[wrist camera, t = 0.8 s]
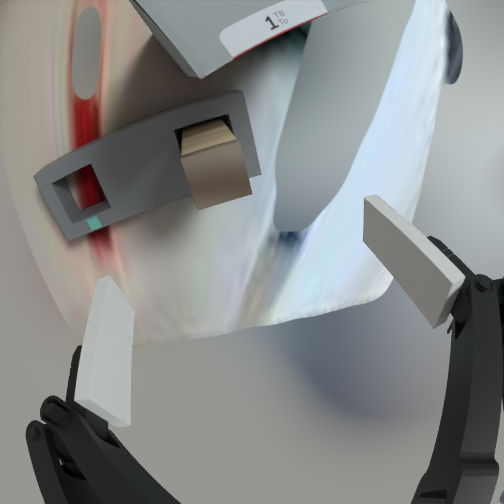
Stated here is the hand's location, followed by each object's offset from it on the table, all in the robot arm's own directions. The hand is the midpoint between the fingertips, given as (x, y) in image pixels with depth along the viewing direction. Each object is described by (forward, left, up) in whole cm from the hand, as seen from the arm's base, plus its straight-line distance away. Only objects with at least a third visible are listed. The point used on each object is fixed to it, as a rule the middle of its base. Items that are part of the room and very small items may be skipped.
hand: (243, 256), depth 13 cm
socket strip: (0, -8, -23) cm, 24 cm away
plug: (0, 0, -23) cm, 23 cm away
